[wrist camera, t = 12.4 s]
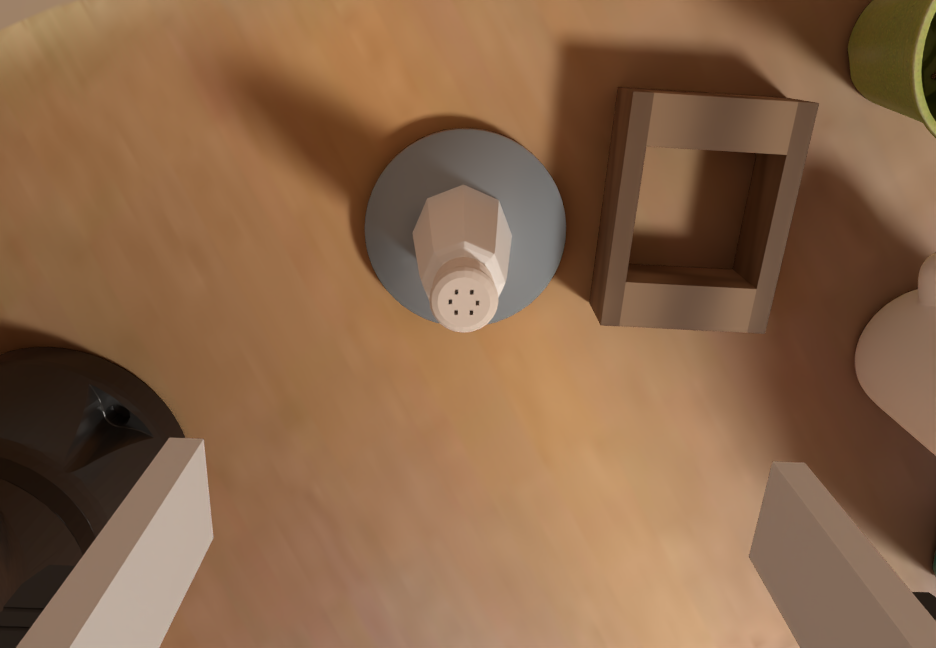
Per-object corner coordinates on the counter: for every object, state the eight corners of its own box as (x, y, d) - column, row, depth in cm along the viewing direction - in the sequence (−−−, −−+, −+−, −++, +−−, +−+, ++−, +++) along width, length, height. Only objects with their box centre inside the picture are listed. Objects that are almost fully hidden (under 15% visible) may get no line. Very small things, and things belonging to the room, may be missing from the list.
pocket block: (589, 302, 41) (600, 325, 38) (617, 87, 37) (633, 91, 34) (740, 310, 42) (765, 333, 38) (787, 97, 37) (818, 103, 34)
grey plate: (366, 315, 41) (364, 321, 40) (367, 121, 37) (365, 123, 36) (552, 325, 42) (555, 331, 41) (574, 134, 38) (577, 136, 37)
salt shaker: (514, 185, 38) (535, 238, 27) (509, 281, 40) (527, 365, 29) (412, 182, 37) (395, 234, 27) (412, 279, 39) (396, 362, 29)
